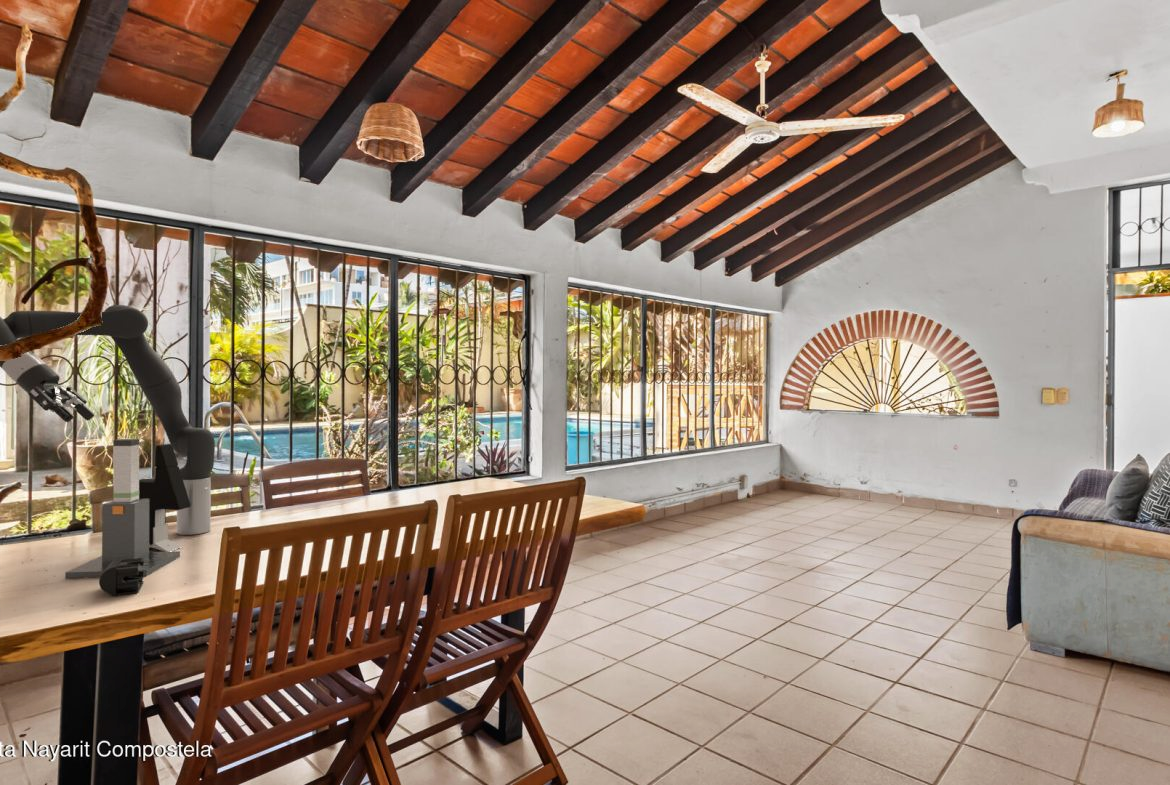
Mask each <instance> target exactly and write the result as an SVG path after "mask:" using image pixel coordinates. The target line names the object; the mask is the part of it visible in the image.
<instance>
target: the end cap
mask: <svg viewBox="0 0 1170 785" xmlns="http://www.w3.org/2000/svg"><path fill="white" fill-rule="evenodd" d="M143 565H144V558H137V559H126V560H124V557H119V558H117V559H115V560H113V561H112V562H111V563H110V564H109V566H108V567H107V568H106V570H105V571H104V572H103V574H102V575H101V577H100V578H99V580H98V582H99V587H100V589H101V590H102V591H103V592H104V593H106V594H108V595H110V596H112V597H121V596H122V597H123V595H124V596H131V595H132V594H133V595H137V593H138V594H139V593H140V591H139V590H141V589H142V587H143V585H144V577H145V576H144V570H143V571H138V568H139V567H140V566H143Z"/></svg>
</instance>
